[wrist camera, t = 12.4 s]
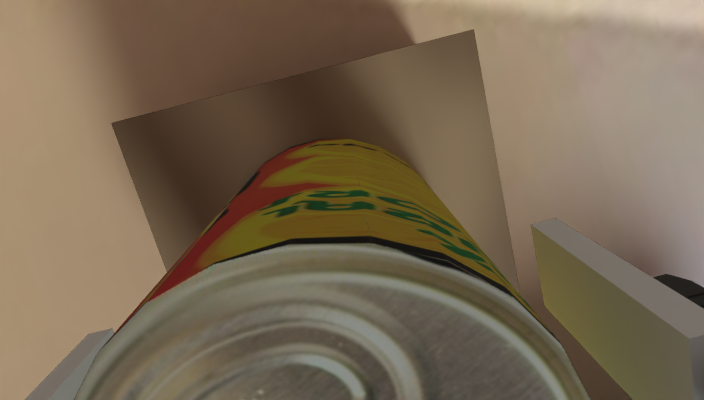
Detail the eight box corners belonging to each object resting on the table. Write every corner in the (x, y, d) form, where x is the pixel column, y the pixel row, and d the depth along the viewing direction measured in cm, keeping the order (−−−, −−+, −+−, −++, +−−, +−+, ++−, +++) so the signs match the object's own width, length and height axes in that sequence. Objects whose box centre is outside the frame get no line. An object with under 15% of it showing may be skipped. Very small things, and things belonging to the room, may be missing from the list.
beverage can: (356, 89, 18) (390, 113, 7) (488, 265, 20) (695, 524, 8) (178, 230, 19) (-62, 463, 8) (319, 383, 21) (296, 754, 10)
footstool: (257, 326, 30) (225, 427, 22) (184, 107, 27) (111, 123, 18) (474, 274, 30) (530, 355, 21) (428, 44, 26) (474, 29, 18)
